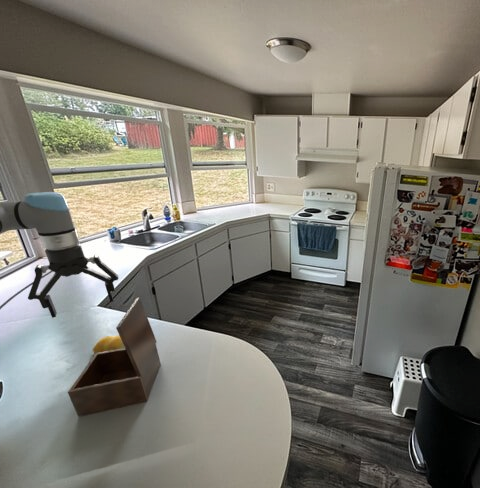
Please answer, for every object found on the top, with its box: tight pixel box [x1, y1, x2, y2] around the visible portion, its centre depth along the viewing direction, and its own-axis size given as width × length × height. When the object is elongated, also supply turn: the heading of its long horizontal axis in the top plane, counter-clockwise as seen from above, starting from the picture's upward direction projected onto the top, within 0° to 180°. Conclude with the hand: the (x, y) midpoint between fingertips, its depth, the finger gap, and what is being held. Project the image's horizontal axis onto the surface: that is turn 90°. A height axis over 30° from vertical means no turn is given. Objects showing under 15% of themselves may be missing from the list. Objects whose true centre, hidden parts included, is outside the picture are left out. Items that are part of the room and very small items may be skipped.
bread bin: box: [67, 343, 162, 418], centre depth 72 cm, size 16×14×9 cm
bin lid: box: [115, 297, 158, 377], centre depth 70 cm, size 17×14×1 cm
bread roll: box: [92, 334, 125, 354], centre depth 88 cm, size 8×9×4 cm
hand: (84, 307), depth 81 cm, fingers open, 13 cm apart
